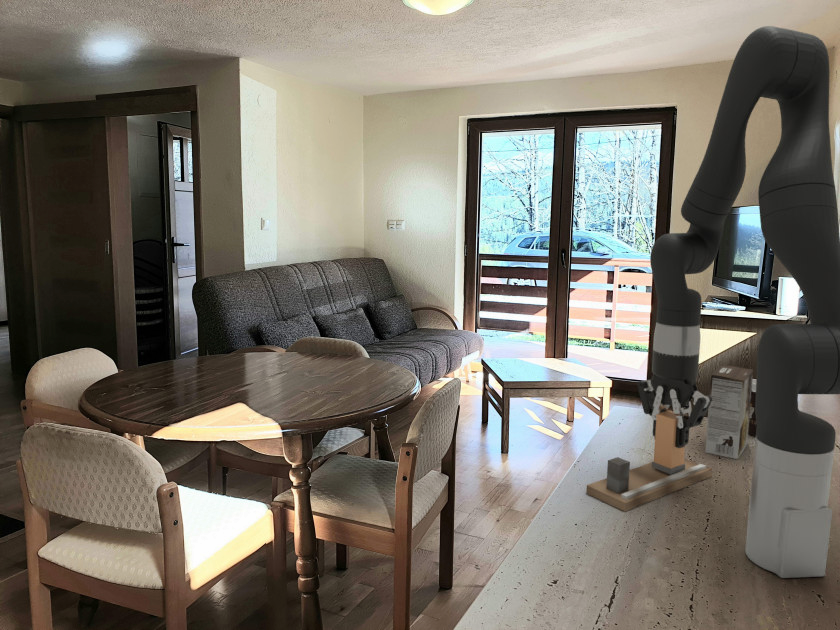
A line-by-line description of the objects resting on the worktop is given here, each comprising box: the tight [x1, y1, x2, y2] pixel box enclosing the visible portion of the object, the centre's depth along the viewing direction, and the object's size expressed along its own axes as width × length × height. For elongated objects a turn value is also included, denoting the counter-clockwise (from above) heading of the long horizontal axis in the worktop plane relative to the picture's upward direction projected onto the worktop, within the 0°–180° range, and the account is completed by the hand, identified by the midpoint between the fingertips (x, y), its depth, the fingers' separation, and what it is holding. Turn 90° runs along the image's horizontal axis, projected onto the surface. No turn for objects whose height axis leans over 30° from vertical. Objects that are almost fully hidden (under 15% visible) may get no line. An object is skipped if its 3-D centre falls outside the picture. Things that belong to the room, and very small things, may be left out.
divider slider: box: [651, 409, 686, 475], centre depth 117 cm, size 4×4×10 cm
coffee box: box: [704, 364, 754, 460], centre depth 130 cm, size 9×6×16 cm
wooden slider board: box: [585, 456, 713, 512], centre depth 115 cm, size 24×8×6 cm, turn 124°
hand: (669, 442), depth 117 cm, fingers closed on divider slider, 3 cm apart
